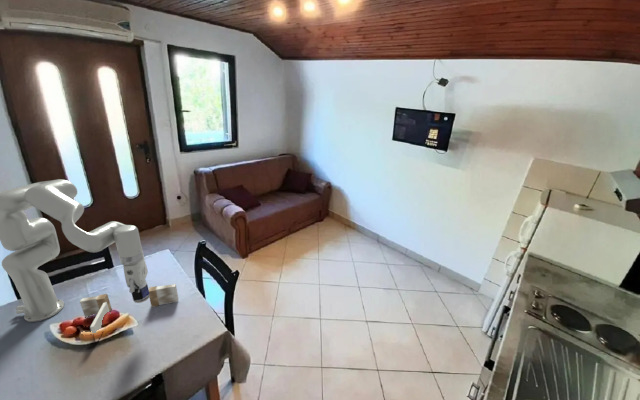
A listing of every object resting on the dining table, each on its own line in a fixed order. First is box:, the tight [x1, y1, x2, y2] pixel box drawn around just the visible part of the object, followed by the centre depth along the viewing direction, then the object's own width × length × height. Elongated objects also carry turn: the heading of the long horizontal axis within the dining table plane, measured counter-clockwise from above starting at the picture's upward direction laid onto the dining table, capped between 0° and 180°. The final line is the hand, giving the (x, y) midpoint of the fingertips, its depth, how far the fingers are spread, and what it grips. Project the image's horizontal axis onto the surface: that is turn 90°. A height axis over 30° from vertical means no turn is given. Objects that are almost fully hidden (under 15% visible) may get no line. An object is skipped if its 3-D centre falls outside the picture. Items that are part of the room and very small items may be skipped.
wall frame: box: [79, 283, 179, 318], centre depth 121 cm, size 36×3×9 cm, turn 109°
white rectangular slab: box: [89, 302, 109, 334], centre depth 109 cm, size 14×2×8 cm, turn 20°
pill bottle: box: [131, 280, 150, 304], centre depth 107 cm, size 6×6×10 cm
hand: (140, 293), depth 107 cm, fingers closed on pill bottle, 5 cm apart
